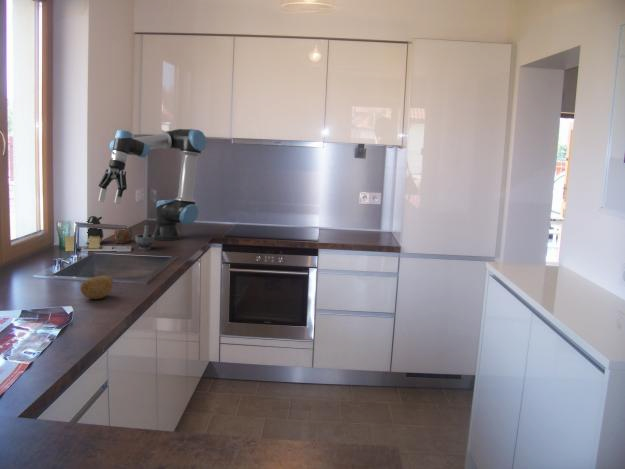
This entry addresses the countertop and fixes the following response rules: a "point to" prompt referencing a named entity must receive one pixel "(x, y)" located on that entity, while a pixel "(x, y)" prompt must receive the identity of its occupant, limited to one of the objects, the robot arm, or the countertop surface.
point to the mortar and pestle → (144, 239)
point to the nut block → (69, 243)
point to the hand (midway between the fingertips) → (109, 202)
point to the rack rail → (107, 248)
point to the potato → (97, 287)
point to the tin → (122, 236)
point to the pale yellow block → (94, 242)
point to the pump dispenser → (94, 230)
